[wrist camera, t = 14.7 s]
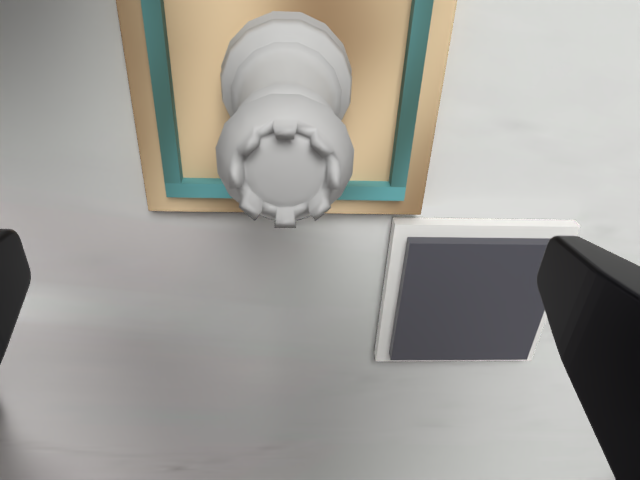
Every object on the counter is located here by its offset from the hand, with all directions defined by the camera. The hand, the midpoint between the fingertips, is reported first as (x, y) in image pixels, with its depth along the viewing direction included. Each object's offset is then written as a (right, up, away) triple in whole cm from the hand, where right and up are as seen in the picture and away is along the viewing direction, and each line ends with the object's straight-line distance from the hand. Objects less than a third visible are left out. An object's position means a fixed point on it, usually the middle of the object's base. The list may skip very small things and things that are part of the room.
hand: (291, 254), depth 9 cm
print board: (-1, +6, +10) cm, 12 cm away
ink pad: (+7, -2, +16) cm, 18 cm away
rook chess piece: (-1, +6, +9) cm, 11 cm away
